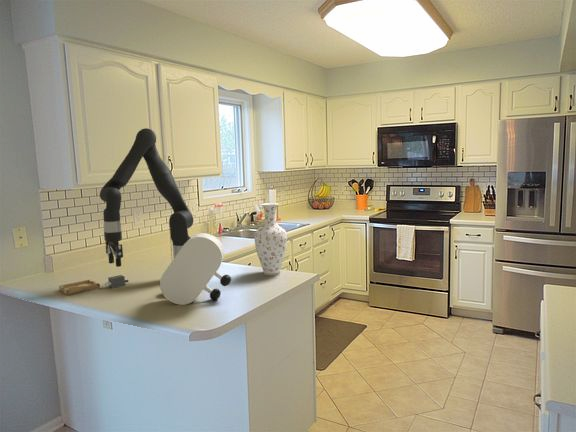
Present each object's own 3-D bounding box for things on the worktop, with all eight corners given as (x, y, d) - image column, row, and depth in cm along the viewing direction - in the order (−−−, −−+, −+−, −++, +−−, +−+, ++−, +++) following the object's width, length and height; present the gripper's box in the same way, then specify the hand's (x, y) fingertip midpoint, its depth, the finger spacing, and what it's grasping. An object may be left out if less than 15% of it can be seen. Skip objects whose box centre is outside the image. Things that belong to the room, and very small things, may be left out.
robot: (246, 259, 186) (198, 225, 183) (244, 264, 177) (195, 229, 174) (204, 314, 188) (157, 282, 186) (201, 322, 180) (152, 288, 177)
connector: (130, 284, 209) (129, 275, 209) (107, 289, 202) (106, 280, 201) (126, 283, 212) (125, 273, 211) (104, 288, 205) (103, 278, 204)
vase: (271, 267, 234) (268, 201, 229) (294, 272, 224) (292, 203, 219) (249, 274, 222) (246, 204, 217) (272, 279, 212) (270, 206, 207)
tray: (99, 288, 204) (99, 283, 204) (67, 295, 194) (67, 290, 194) (90, 283, 212) (90, 279, 212) (59, 290, 202) (59, 285, 202)
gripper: (127, 231, 201) (129, 266, 204) (114, 227, 212) (117, 260, 214) (110, 233, 196) (112, 269, 199) (98, 229, 207) (101, 263, 209)
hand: (115, 264), depth 206 cm, fingers open, 8 cm apart
